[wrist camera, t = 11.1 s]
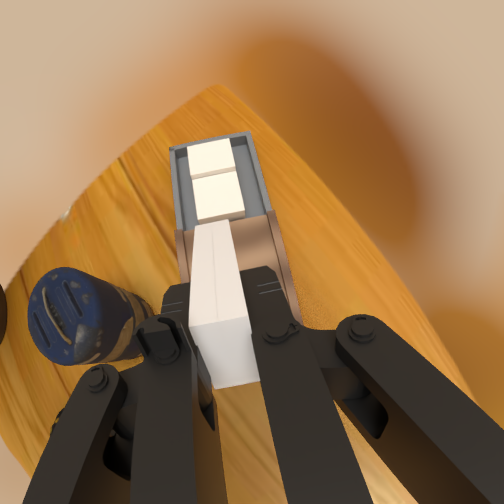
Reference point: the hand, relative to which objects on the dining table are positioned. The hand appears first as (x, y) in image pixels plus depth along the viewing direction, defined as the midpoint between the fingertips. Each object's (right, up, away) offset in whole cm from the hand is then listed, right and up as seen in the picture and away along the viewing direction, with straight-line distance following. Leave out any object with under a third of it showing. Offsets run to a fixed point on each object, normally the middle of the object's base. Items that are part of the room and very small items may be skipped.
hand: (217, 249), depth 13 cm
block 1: (-3, +10, +26) cm, 28 cm away
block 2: (-3, +6, +28) cm, 29 cm away
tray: (-4, +10, +30) cm, 32 cm away
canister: (-16, -11, +24) cm, 31 cm away
